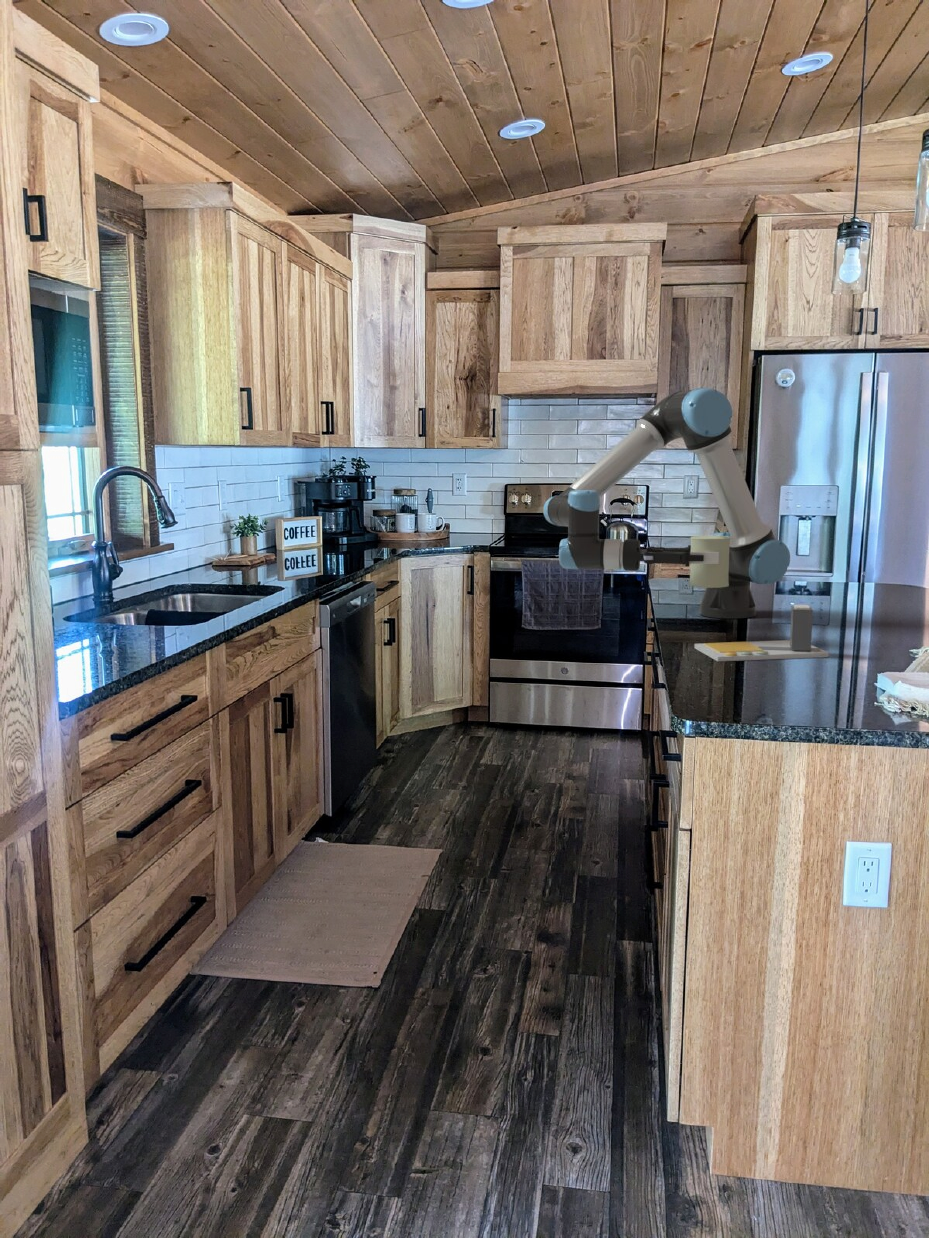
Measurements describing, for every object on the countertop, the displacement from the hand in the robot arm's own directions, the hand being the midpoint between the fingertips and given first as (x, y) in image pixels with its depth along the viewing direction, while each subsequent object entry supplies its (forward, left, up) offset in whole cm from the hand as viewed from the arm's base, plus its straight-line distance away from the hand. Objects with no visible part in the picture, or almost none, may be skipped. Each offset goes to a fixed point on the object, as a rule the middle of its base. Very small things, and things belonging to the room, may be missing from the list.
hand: (718, 556), depth 224 cm
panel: (-4, +16, -20) cm, 26 cm away
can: (+2, -1, -7) cm, 7 cm away
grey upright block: (-12, +19, -19) cm, 29 cm away
